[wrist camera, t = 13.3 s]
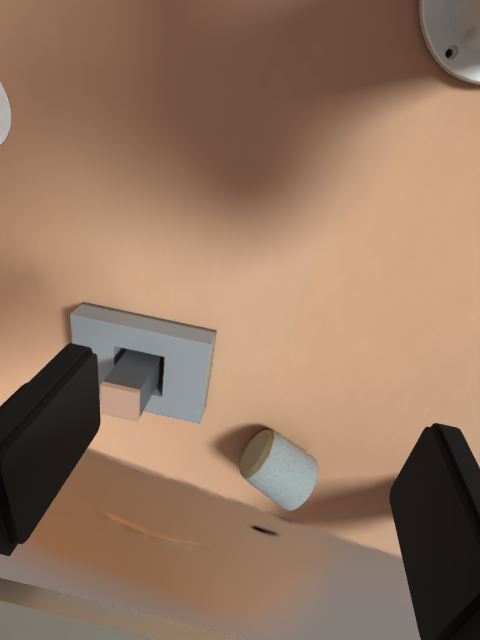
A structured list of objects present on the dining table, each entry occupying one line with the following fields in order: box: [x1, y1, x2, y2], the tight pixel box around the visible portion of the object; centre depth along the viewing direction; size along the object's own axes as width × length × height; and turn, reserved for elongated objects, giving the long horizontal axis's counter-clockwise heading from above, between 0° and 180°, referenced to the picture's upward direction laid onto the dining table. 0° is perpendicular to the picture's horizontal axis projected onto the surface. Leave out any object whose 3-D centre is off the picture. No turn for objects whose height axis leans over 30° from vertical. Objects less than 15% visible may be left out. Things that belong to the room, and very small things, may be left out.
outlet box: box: [70, 302, 217, 424], centre depth 45 cm, size 16×12×3 cm
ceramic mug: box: [239, 430, 318, 511], centre depth 48 cm, size 10×8×7 cm
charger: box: [100, 349, 163, 422], centre depth 42 cm, size 4×4×8 cm
